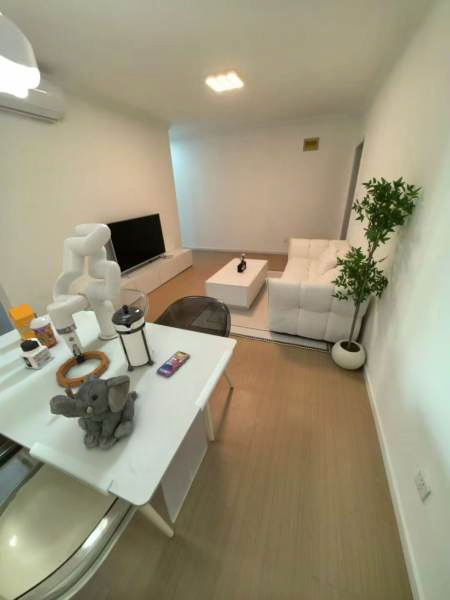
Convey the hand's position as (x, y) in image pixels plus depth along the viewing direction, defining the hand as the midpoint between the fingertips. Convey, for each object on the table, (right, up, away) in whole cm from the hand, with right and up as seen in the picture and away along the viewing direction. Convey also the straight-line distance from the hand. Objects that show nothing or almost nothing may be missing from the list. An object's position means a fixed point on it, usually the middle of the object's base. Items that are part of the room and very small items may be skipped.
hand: (79, 358), depth 110 cm
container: (-20, -2, +1) cm, 20 cm away
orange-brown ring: (+6, -4, -6) cm, 9 cm away
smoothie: (-25, +4, +14) cm, 28 cm away
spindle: (+11, -11, -21) cm, 26 cm away
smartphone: (+47, -1, -6) cm, 48 cm away
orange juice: (-41, +7, +22) cm, 47 cm away
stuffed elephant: (+32, -15, -32) cm, 47 cm away
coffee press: (+30, 0, -2) cm, 30 cm away
